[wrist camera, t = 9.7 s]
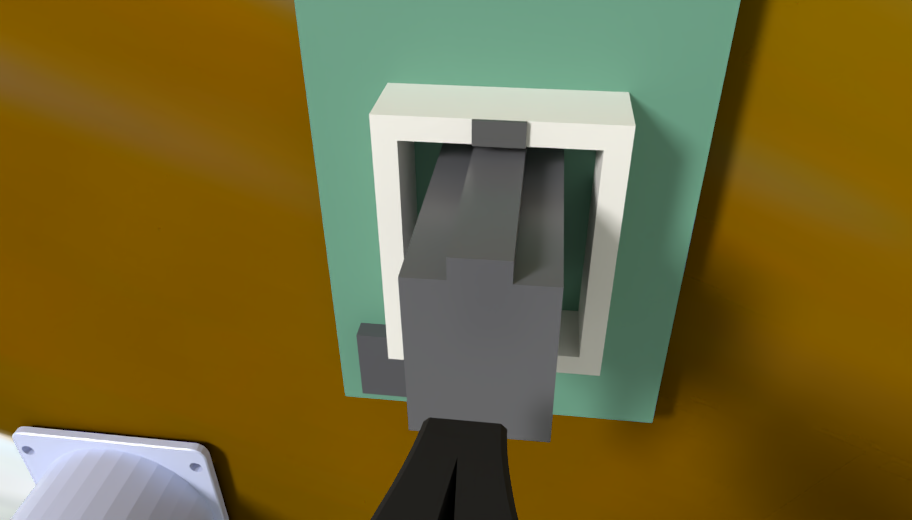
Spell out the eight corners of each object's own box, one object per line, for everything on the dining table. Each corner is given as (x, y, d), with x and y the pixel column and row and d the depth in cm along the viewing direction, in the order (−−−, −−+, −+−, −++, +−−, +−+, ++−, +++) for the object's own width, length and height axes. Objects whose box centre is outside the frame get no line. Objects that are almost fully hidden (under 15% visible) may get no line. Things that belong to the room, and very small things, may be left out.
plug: (547, 368, 22) (541, 541, 17) (449, 361, 22) (416, 528, 17) (565, 126, 17) (565, 264, 12) (443, 121, 18) (396, 254, 13)
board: (649, 400, 23) (659, 476, 21) (352, 375, 25) (328, 444, 22) (741, -59, 16) (775, -27, 13) (300, -66, 17) (252, -38, 14)
